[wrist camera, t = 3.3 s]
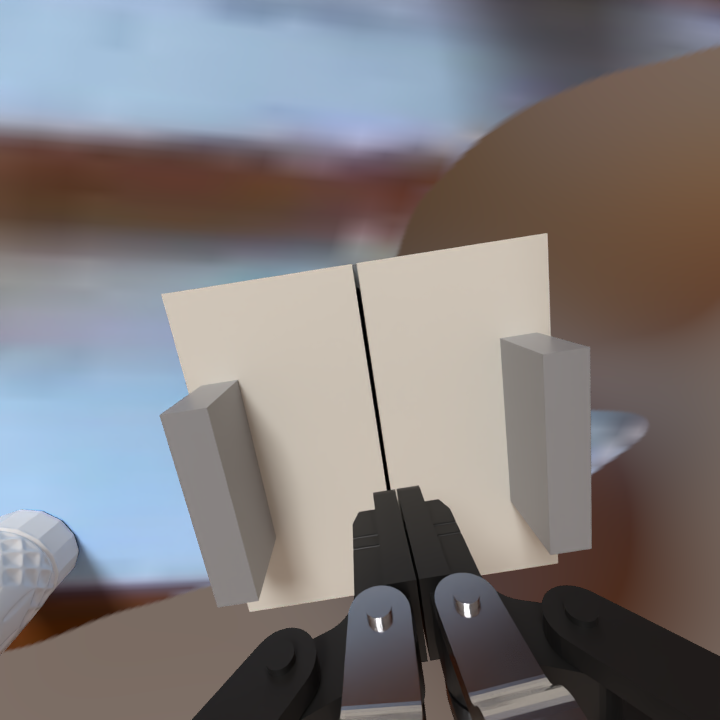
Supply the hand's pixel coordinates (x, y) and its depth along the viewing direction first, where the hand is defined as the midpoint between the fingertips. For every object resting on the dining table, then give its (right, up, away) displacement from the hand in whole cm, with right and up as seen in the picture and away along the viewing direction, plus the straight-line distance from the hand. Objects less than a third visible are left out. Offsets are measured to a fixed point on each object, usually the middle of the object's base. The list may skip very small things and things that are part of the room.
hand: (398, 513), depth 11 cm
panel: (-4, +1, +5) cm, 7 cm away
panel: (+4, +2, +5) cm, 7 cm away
